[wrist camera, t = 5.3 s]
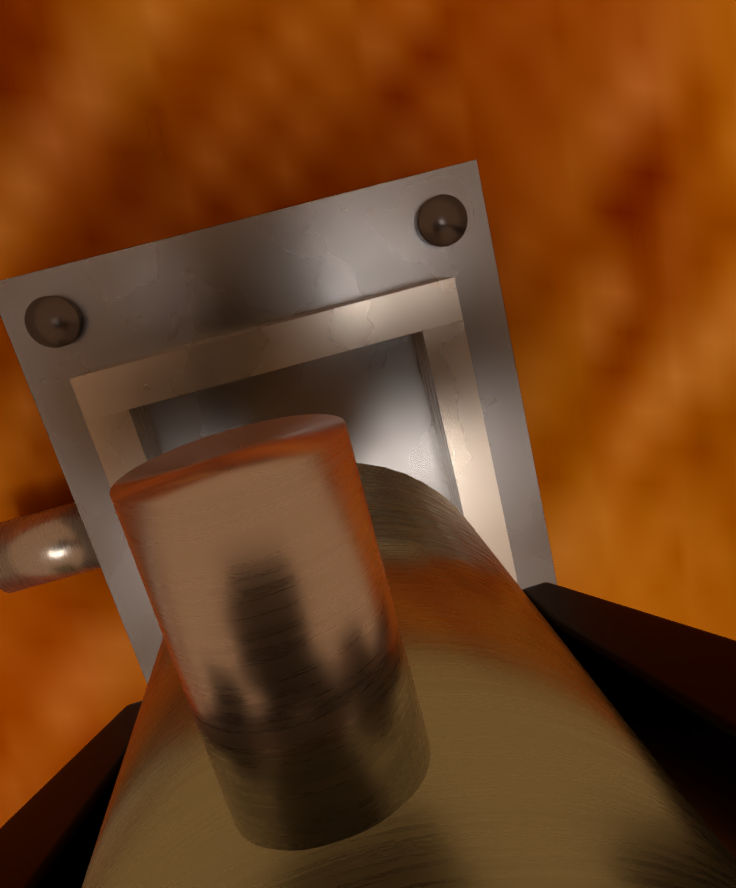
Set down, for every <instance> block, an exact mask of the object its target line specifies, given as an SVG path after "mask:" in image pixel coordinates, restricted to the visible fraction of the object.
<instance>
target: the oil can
mask: <svg viewBox="0 0 736 888" xmlns="http://www.w3.org/2000/svg"><path fill="white" fill-rule="evenodd" d="M109 494H110V497H111V500H112V502H113V505H114V508H115V510H116V513H117V516H118V518H119V521H120V524H121V526H122V529H123V532H124V534H125V537H126V539H127V542H128V545H129V547H130V550H131V553H132V555H133V558H134V561H135V563H136V566H137V569H138V571H139V574H140V576H141V579H142V582H143V584H144V587H145V590H146V592H147V595H148V598H149V600H150V603H151V606H152V608H153V611H154V614H155V616H156V619H157V621H158V624H159V627H160V629H161V632H162V635H163V639H162V642H161V645H160V648H159V651H158V654H157V657H156V660H155V663H154V666H153V670H152V673H151V676H150V679H149V682H148V685H147V688H146V691H145V694H144V697H143V700H142V703H141V706H140V710H139V713H138V716H137V719H136V722H135V725H134V728H133V731H132V734H131V737H130V740H129V743H128V746H127V750H126V753H125V756H124V759H123V762H122V765H121V768H120V771H119V774H118V777H117V780H116V783H115V786H114V790H113V793H112V796H111V799H110V802H109V805H108V808H107V811H106V814H105V817H104V820H103V823H102V826H101V829H100V833H99V836H98V839H97V842H96V845H95V848H94V851H93V854H92V857H91V860H90V863H89V866H88V869H87V873H86V876H85V879H84V882H83V885H82V888H736V861H735V859H734V858H733V857H732V856H731V854H730V853H729V852H728V851H727V849H726V848H725V847H724V845H723V844H722V843H721V842H720V840H719V839H718V838H717V837H716V835H715V834H714V833H713V831H712V830H711V829H710V828H709V826H708V825H707V824H706V823H705V821H704V820H703V819H702V818H701V816H700V815H699V814H698V812H697V811H696V810H695V809H694V807H693V806H692V805H691V804H690V802H689V801H688V800H687V798H686V797H685V796H684V795H683V793H682V792H681V791H680V790H679V788H678V787H677V786H676V784H675V783H674V782H673V781H672V779H671V778H670V777H669V776H668V774H667V773H666V772H665V771H664V769H663V768H662V767H661V765H660V764H659V763H658V762H657V760H656V759H655V758H654V757H653V755H652V754H651V753H650V751H649V750H648V749H647V748H646V746H645V745H644V744H643V743H642V741H641V740H640V739H639V737H638V736H637V735H636V734H635V732H634V731H633V730H632V729H631V727H630V726H629V725H628V724H627V722H626V721H625V720H624V718H623V717H622V716H621V715H620V713H619V712H618V711H617V710H616V708H615V707H614V706H613V704H612V703H611V702H610V701H609V699H608V698H607V697H606V696H605V694H604V693H603V692H602V690H601V689H600V688H599V687H598V685H597V684H596V683H595V682H594V680H593V679H592V678H591V677H590V675H589V674H588V673H587V671H586V670H585V669H584V668H583V666H582V665H581V664H580V663H579V661H578V660H577V659H576V657H575V656H574V655H573V654H572V652H571V651H570V650H569V649H568V647H567V646H566V645H565V643H564V642H563V641H562V640H561V638H560V637H559V636H558V635H557V633H556V632H555V631H554V630H553V628H552V627H551V626H550V624H549V623H548V622H547V621H546V619H545V618H544V617H543V616H542V614H541V613H540V612H539V610H538V609H537V608H536V607H535V605H534V604H533V603H532V602H531V600H530V599H529V598H528V597H527V595H526V594H525V593H524V591H523V590H522V589H521V588H520V586H519V585H518V584H517V583H516V581H515V580H514V579H513V577H512V576H511V575H510V574H509V572H508V571H507V570H506V569H505V567H504V566H503V565H502V563H501V562H500V561H499V560H498V558H497V557H496V556H495V555H494V553H493V552H492V551H491V550H490V548H489V547H488V546H487V544H486V543H485V542H484V541H483V539H482V538H481V537H480V536H479V534H478V533H477V532H476V530H475V529H474V528H473V527H472V525H471V524H470V523H469V522H468V520H467V519H466V518H465V517H464V516H463V515H462V513H461V512H460V511H459V510H458V509H457V508H456V507H455V506H454V505H453V504H452V503H451V502H450V501H449V500H448V499H446V498H445V497H444V496H443V495H442V494H441V493H439V492H438V491H436V490H435V489H433V488H431V487H430V486H428V485H427V484H425V483H424V482H422V481H420V480H417V479H415V478H413V477H411V476H409V475H407V474H405V473H401V472H398V471H395V470H392V469H389V468H385V467H380V466H375V465H369V464H363V463H356V459H355V456H354V452H353V448H352V444H351V440H350V437H349V433H348V429H347V425H346V422H345V420H344V419H342V418H341V417H338V416H335V415H328V414H306V415H296V416H288V417H282V418H276V419H271V420H266V421H261V422H257V423H252V424H248V425H244V426H240V427H237V428H233V429H229V430H226V431H223V432H219V433H216V434H213V435H210V436H207V437H204V438H201V439H198V440H195V441H193V442H190V443H187V444H185V445H182V446H180V447H177V448H174V449H172V450H170V451H168V452H165V453H163V454H161V455H159V456H157V457H154V458H152V459H150V460H148V461H146V462H145V463H143V464H141V465H139V466H137V467H136V468H134V469H132V470H131V471H129V472H128V473H126V474H125V475H123V476H122V477H121V478H120V479H118V480H117V481H116V482H115V483H114V484H113V486H112V487H111V489H110V492H109Z"/></svg>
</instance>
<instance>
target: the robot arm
mask: <svg viewBox="0 0 736 888" xmlns="http://www.w3.org/2000/svg"><path fill="white" fill-rule="evenodd" d="M522 590H523V591H524V593H525V594H526V595H527V597H528V598H529V599H530V600H531V602H532V603H533V604H534V605H535V607H536V608H537V609H538V610H539V612H540V613H541V614H542V616H543V617H544V618H545V619H546V621H547V622H548V623H549V624H550V626H551V627H552V628H553V630H554V631H555V632H556V633H557V635H558V636H559V637H560V638H561V640H562V641H563V642H564V643H565V645H566V646H567V647H568V649H569V650H570V651H571V652H572V654H573V655H574V656H575V657H576V659H577V660H578V661H579V663H580V664H581V665H582V666H583V668H584V669H585V670H586V671H587V673H588V674H589V675H590V677H591V678H592V679H593V680H594V682H595V683H596V684H597V685H598V687H599V688H600V689H601V690H602V692H603V693H604V694H605V696H606V697H607V698H608V699H609V701H610V702H611V703H612V704H613V706H614V707H615V708H616V710H617V711H618V712H619V713H620V715H621V716H622V717H623V718H624V720H625V721H626V722H627V724H628V725H629V726H630V727H631V729H632V730H633V731H634V732H635V734H636V735H637V736H638V737H639V739H640V740H641V741H642V743H643V744H644V745H645V746H646V748H647V749H648V750H649V751H650V753H651V754H652V755H653V757H654V758H655V759H656V760H657V762H658V763H659V764H660V765H661V767H662V768H663V769H664V771H665V772H666V773H667V774H668V776H669V777H670V778H671V779H672V781H673V782H674V783H675V784H676V786H677V787H678V788H679V790H680V791H681V792H682V793H683V795H684V796H685V797H686V798H687V800H688V801H689V802H690V804H691V805H692V806H693V807H694V809H695V810H696V811H697V812H698V814H699V815H700V816H701V818H702V819H703V820H704V821H705V823H706V824H707V825H708V826H709V828H710V829H711V830H712V831H713V833H714V834H715V835H716V837H717V838H718V839H719V840H720V842H721V843H722V844H723V845H724V847H725V848H726V849H727V851H728V852H729V853H730V854H731V856H732V857H733V858H734V859H735V861H736V641H735V640H732V639H729V638H726V637H722V636H719V635H716V634H713V633H710V632H706V631H703V630H700V629H697V628H693V627H690V626H687V625H684V624H681V623H677V622H674V621H671V620H668V619H665V618H661V617H658V616H655V615H652V614H648V613H645V612H642V611H639V610H636V609H632V608H629V607H626V606H623V605H620V604H616V603H613V602H610V601H607V600H603V599H600V598H597V597H594V596H591V595H587V594H584V593H581V592H578V591H575V590H571V589H568V588H565V587H562V586H558V585H555V584H552V583H548V582H543V583H539V584H536V585H533V586H529V587H526V588H523V589H522ZM141 703H142V701H140V702H136V703H133V704H130V705H128V706H126V707H125V708H124V709H123V710H122V711H121V712H120V713H119V714H118V715H117V716H116V717H115V718H114V719H113V720H112V721H111V722H110V723H109V724H108V725H106V726H105V727H104V728H103V729H102V730H101V731H100V732H99V733H98V734H97V735H96V736H95V737H94V738H93V739H92V740H91V741H90V742H89V743H88V744H87V745H86V746H85V747H84V748H83V749H82V750H81V751H80V752H79V753H78V754H77V755H76V756H74V757H73V758H72V759H71V760H70V761H69V762H68V763H67V764H66V765H65V766H64V767H63V768H62V769H61V770H60V771H59V772H58V773H57V774H56V775H55V776H54V777H53V778H52V779H51V780H50V781H49V782H48V783H47V784H46V785H45V786H44V787H43V788H41V789H40V790H39V791H38V792H37V793H36V794H35V795H34V796H33V797H32V798H31V799H30V800H29V801H28V802H27V803H26V804H25V805H24V806H23V807H22V808H21V809H20V810H19V811H18V812H17V813H16V814H15V815H14V816H13V817H12V818H11V819H9V820H8V821H7V822H6V823H5V824H4V825H3V826H2V827H1V828H0V888H82V885H83V882H84V879H85V876H86V873H87V869H88V866H89V863H90V860H91V857H92V854H93V851H94V848H95V845H96V842H97V839H98V836H99V833H100V829H101V826H102V823H103V820H104V817H105V814H106V811H107V808H108V805H109V802H110V799H111V796H112V793H113V790H114V786H115V783H116V780H117V777H118V774H119V771H120V768H121V765H122V762H123V759H124V756H125V753H126V750H127V746H128V743H129V740H130V737H131V734H132V731H133V728H134V725H135V722H136V719H137V716H138V713H139V710H140V706H141Z"/></svg>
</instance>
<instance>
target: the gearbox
mask: <svg viewBox="0 0 736 888" xmlns="http://www.w3.org/2000/svg"><path fill="white" fill-rule="evenodd" d="M0 315H1V318H2V320H3V323H4V325H5V328H6V330H7V333H8V335H9V338H10V340H11V343H12V345H13V348H14V350H15V353H16V355H17V358H18V360H19V363H20V365H21V368H22V370H23V373H24V376H25V378H26V381H27V383H28V386H29V388H30V391H31V393H32V396H33V398H34V401H35V403H36V406H37V408H38V411H39V413H40V416H41V418H42V421H43V423H44V426H45V428H46V431H47V433H48V436H49V438H50V441H51V443H52V446H53V448H54V451H55V453H56V456H57V458H58V461H59V463H60V466H61V468H62V471H63V473H64V476H65V478H66V481H67V483H68V486H69V488H70V491H71V493H72V496H73V498H74V501H75V502H73V503H69V504H65V505H62V506H58V507H54V508H51V509H47V510H43V511H40V512H36V513H33V514H29V515H25V516H22V517H18V518H14V519H11V520H7V521H3V522H0V589H1V590H3V591H5V592H8V593H12V592H16V591H19V590H23V589H27V588H30V587H34V586H37V585H41V584H44V583H48V582H52V581H55V580H59V579H62V578H66V577H69V576H73V575H76V574H80V573H84V572H87V571H91V570H94V569H98V568H101V569H102V571H103V574H104V576H105V579H106V581H107V584H108V586H109V589H110V591H111V594H112V596H113V599H114V601H115V604H116V606H117V609H118V611H119V614H120V616H121V619H122V621H123V624H124V626H125V629H126V631H127V634H128V636H129V639H130V641H131V644H132V646H133V649H134V651H135V654H136V656H137V659H138V662H139V664H140V667H141V669H142V672H143V674H144V677H145V679H146V682H147V684H148V682H149V679H150V676H151V673H152V670H153V666H154V663H155V660H156V657H157V654H158V651H159V648H160V645H161V642H162V639H163V635H162V632H161V629H160V627H159V624H158V621H157V619H156V616H155V614H154V611H153V608H152V606H151V603H150V600H149V598H148V595H147V592H146V590H145V587H144V584H143V582H142V579H141V576H140V574H139V571H138V569H137V566H136V563H135V561H134V558H133V555H132V553H131V550H130V547H129V545H128V542H127V539H126V537H125V534H124V532H123V529H122V526H121V524H120V521H119V518H118V516H117V513H116V510H115V508H114V505H113V502H112V500H111V497H110V494H109V492H110V489H111V487H112V486H113V484H114V483H115V482H116V481H117V480H118V479H120V478H121V477H122V476H123V475H125V474H126V473H128V472H129V471H131V470H132V469H134V468H136V467H137V466H139V465H141V464H143V463H145V462H146V461H148V460H150V459H152V458H154V457H157V456H159V455H161V454H163V453H165V452H168V451H170V450H172V449H174V448H177V447H180V446H182V445H185V444H187V443H190V442H193V441H195V440H198V439H201V438H204V437H207V436H210V435H213V434H216V433H219V432H223V431H226V430H229V429H233V428H237V427H240V426H244V425H248V424H252V423H257V422H261V421H266V420H271V419H276V418H282V417H288V416H296V415H306V414H328V415H335V416H338V417H341V418H342V419H344V420H345V422H346V425H347V429H348V433H349V437H350V440H351V444H352V448H353V452H354V456H355V459H356V463H363V464H369V465H375V466H380V467H385V468H389V469H392V470H395V471H398V472H401V473H405V474H407V475H409V476H411V477H413V478H415V479H417V480H420V481H422V482H424V483H425V484H427V485H428V486H430V487H431V488H433V489H435V490H436V491H438V492H439V493H441V494H442V495H443V496H444V497H445V498H446V499H448V500H449V501H450V502H451V503H452V504H453V505H454V506H455V507H456V508H457V509H458V510H459V511H460V512H461V513H462V515H463V516H464V517H465V518H466V519H467V520H468V522H469V523H470V524H471V525H472V527H473V528H474V529H475V530H476V532H477V533H478V534H479V536H480V537H481V538H482V539H483V541H484V542H485V543H486V544H487V546H488V547H489V548H490V550H491V551H492V552H493V553H494V555H495V556H496V557H497V558H498V560H499V561H500V562H501V563H502V565H503V566H504V567H505V569H506V570H507V571H508V572H509V574H510V575H511V576H512V577H513V579H514V580H515V581H516V583H517V584H518V585H519V586H520V588H521V589H523V588H526V587H529V586H533V585H536V584H539V583H543V582H548V583H552V584H555V585H557V582H556V576H555V571H554V566H553V561H552V555H551V550H550V545H549V539H548V534H547V529H546V524H545V518H544V513H543V508H542V503H541V497H540V492H539V487H538V482H537V476H536V471H535V466H534V460H533V455H532V450H531V445H530V439H529V434H528V429H527V424H526V418H525V413H524V408H523V403H522V397H521V392H520V387H519V381H518V376H517V371H516V366H515V360H514V355H513V350H512V345H511V339H510V334H509V329H508V324H507V318H506V313H505V308H504V302H503V297H502V292H501V287H500V281H499V276H498V271H497V266H496V260H495V255H494V250H493V245H492V239H491V234H490V229H489V223H488V218H487V213H486V208H485V202H484V197H483V192H482V187H481V181H480V176H479V171H478V166H477V160H473V161H469V162H465V163H461V164H457V165H453V166H449V167H445V168H441V169H437V170H433V171H429V172H426V173H422V174H418V175H414V176H410V177H406V178H402V179H398V180H394V181H390V182H386V183H382V184H378V185H374V186H371V187H367V188H363V189H359V190H355V191H351V192H347V193H343V194H339V195H335V196H331V197H327V198H323V199H319V200H315V201H312V202H308V203H304V204H300V205H296V206H292V207H288V208H284V209H280V210H276V211H272V212H268V213H264V214H260V215H257V216H253V217H249V218H245V219H241V220H237V221H233V222H229V223H225V224H221V225H217V226H213V227H209V228H205V229H201V230H198V231H194V232H190V233H186V234H182V235H178V236H174V237H170V238H166V239H162V240H158V241H154V242H150V243H146V244H143V245H139V246H135V247H131V248H127V249H123V250H119V251H115V252H111V253H107V254H103V255H99V256H95V257H91V258H87V259H84V260H80V261H76V262H72V263H68V264H64V265H60V266H56V267H52V268H48V269H44V270H40V271H36V272H32V273H29V274H25V275H21V276H17V277H13V278H9V279H5V280H1V281H0Z"/></svg>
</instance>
